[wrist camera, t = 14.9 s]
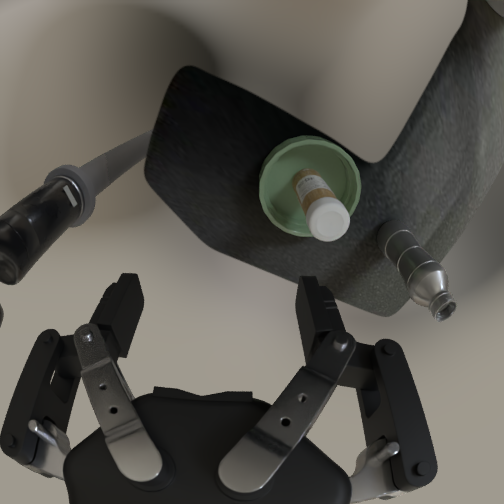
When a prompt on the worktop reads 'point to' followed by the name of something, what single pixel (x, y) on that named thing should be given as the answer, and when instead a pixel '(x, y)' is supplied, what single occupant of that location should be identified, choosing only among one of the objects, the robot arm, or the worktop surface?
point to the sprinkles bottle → (320, 206)
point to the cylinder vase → (497, 6)
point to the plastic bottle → (417, 269)
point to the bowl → (293, 160)
